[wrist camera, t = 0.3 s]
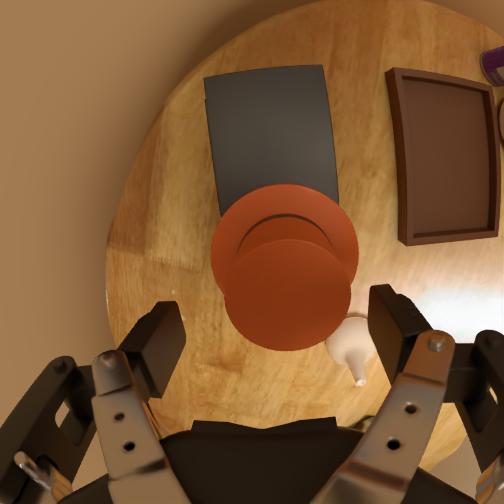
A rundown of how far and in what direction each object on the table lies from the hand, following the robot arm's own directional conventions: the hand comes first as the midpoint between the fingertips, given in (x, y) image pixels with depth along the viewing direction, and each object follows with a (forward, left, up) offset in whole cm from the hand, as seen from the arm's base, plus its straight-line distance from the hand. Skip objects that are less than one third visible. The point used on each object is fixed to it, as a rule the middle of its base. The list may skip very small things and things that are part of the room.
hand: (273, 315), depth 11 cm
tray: (-5, +20, -18) cm, 27 cm away
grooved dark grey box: (-4, +1, -18) cm, 18 cm away
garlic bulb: (+15, +8, -18) cm, 24 cm away
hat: (0, +1, -7) cm, 7 cm away
